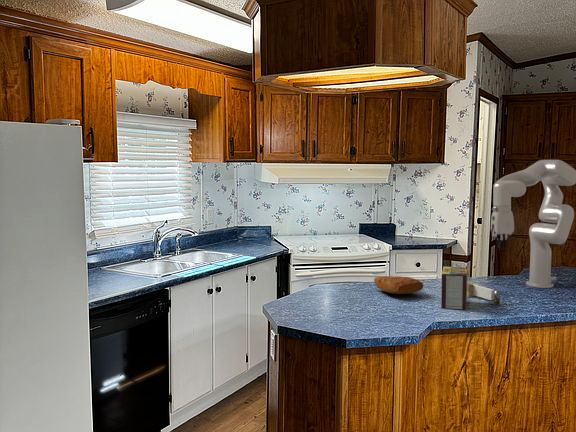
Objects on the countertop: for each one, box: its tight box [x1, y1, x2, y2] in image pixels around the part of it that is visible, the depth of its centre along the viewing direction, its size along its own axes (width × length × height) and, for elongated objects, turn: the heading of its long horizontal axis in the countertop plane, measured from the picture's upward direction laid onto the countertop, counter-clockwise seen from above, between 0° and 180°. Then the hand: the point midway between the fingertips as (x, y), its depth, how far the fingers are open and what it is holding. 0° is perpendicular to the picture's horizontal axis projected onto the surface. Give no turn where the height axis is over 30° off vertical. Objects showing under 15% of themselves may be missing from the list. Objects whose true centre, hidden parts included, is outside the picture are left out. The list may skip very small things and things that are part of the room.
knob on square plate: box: [488, 289, 506, 307], centre depth 228 cm, size 5×5×6 cm
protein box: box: [440, 266, 468, 311], centre depth 227 cm, size 10×15×16 cm
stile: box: [467, 283, 474, 298], centre depth 241 cm, size 3×3×6 cm
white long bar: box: [473, 283, 495, 301], centre depth 237 cm, size 14×2×5 cm, turn 24°
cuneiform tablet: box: [373, 275, 424, 295], centre depth 247 cm, size 22×17×8 cm
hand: (501, 247), depth 241 cm, fingers closed
